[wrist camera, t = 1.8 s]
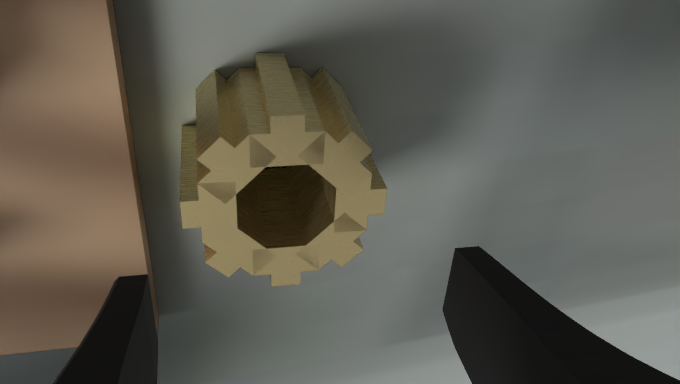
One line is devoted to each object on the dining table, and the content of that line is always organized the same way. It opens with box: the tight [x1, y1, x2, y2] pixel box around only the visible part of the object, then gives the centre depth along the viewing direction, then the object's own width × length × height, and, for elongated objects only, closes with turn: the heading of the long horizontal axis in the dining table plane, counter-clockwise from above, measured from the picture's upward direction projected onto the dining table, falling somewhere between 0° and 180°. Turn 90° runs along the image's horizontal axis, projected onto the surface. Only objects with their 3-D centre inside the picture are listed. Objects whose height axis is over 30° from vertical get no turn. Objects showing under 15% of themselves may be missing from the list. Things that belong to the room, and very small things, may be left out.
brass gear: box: [180, 53, 387, 287], centre depth 19 cm, size 6×6×4 cm
